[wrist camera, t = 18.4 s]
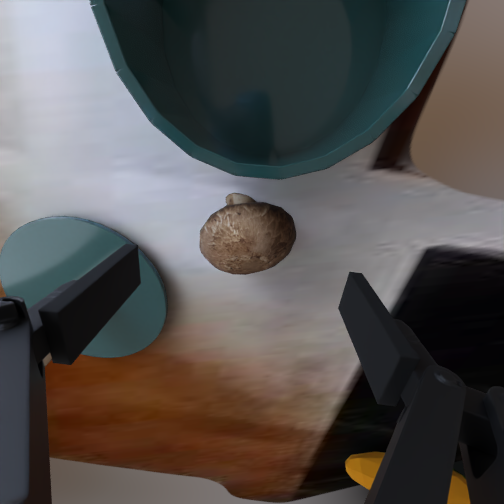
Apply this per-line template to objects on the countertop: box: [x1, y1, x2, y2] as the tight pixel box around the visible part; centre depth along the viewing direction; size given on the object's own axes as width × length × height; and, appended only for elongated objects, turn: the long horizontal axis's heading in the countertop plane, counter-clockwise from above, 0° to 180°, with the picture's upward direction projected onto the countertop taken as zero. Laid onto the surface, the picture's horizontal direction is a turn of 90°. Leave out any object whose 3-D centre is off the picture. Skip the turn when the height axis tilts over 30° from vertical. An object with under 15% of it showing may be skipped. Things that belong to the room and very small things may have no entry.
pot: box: [90, 0, 466, 180], centre depth 15 cm, size 16×16×8 cm
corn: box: [345, 452, 470, 504], centre depth 34 cm, size 7×8×20 cm
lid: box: [0, 216, 168, 366], centre depth 23 cm, size 17×17×10 cm
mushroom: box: [200, 193, 296, 275], centre depth 22 cm, size 8×8×6 cm
